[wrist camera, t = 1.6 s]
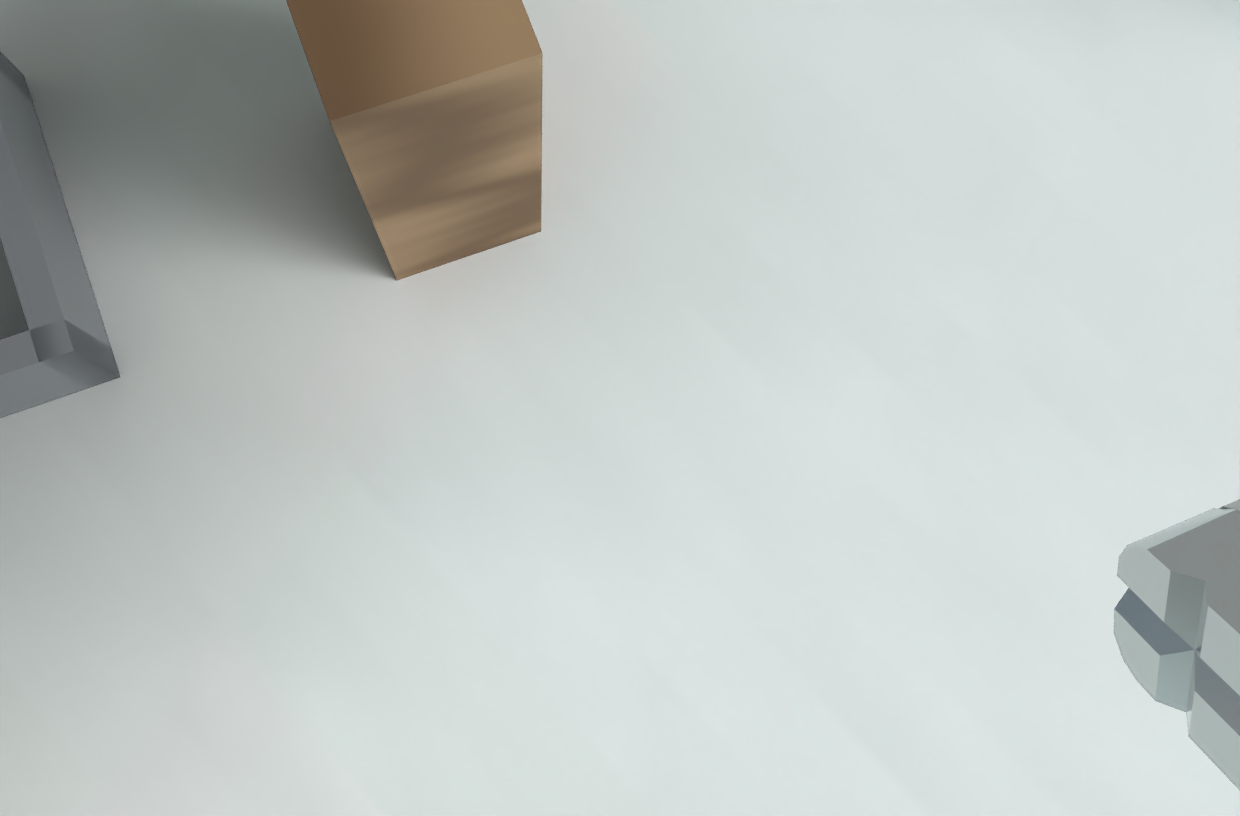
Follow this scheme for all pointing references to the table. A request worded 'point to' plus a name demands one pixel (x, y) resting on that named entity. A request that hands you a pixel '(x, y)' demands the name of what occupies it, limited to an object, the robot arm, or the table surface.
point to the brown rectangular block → (433, 119)
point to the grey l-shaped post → (42, 268)
